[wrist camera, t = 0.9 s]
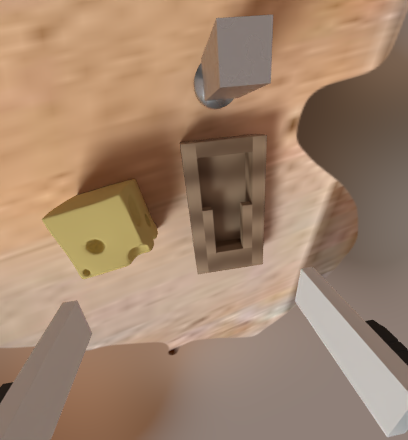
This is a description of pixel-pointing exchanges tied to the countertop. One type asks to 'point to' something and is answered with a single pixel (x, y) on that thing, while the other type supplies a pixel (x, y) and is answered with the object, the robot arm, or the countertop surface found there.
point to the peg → (235, 60)
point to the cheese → (103, 228)
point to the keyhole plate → (226, 200)
